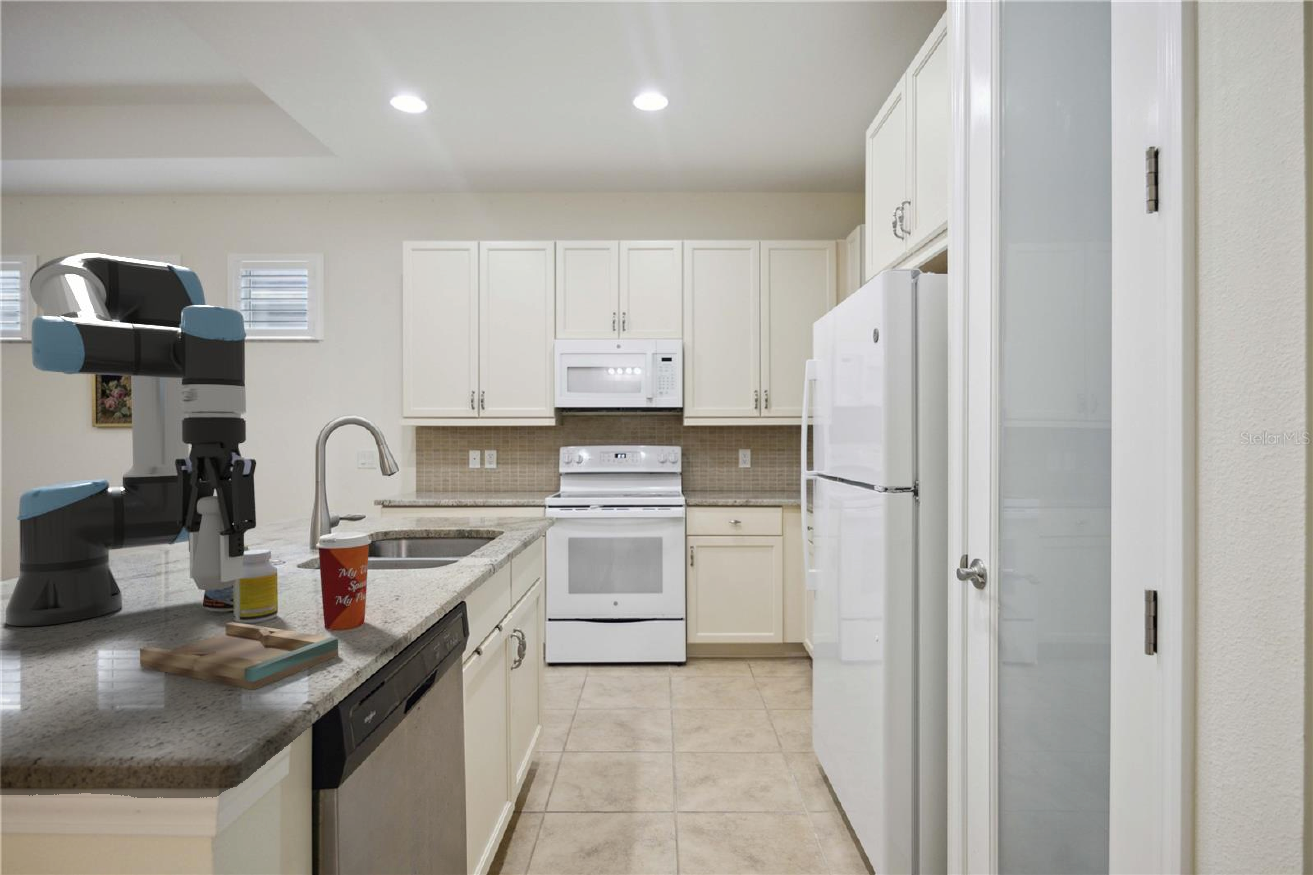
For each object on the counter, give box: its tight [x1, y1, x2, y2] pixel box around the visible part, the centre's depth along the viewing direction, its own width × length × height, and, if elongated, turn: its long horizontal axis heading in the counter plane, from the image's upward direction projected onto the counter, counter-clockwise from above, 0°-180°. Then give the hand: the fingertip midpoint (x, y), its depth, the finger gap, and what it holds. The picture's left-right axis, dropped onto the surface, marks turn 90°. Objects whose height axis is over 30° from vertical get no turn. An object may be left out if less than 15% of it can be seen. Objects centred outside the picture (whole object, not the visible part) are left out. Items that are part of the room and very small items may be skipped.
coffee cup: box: [315, 531, 372, 631], centre depth 107 cm, size 8×8×15 cm
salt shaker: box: [191, 495, 236, 591], centre depth 92 cm, size 6×6×13 cm
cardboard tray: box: [139, 621, 339, 691], centre depth 91 cm, size 22×13×2 cm, turn 69°
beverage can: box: [202, 544, 250, 612], centre depth 116 cm, size 6×7×12 cm
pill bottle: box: [233, 548, 279, 624], centre depth 111 cm, size 6×6×12 cm
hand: (216, 577), depth 92 cm, fingers closed on salt shaker, 6 cm apart
